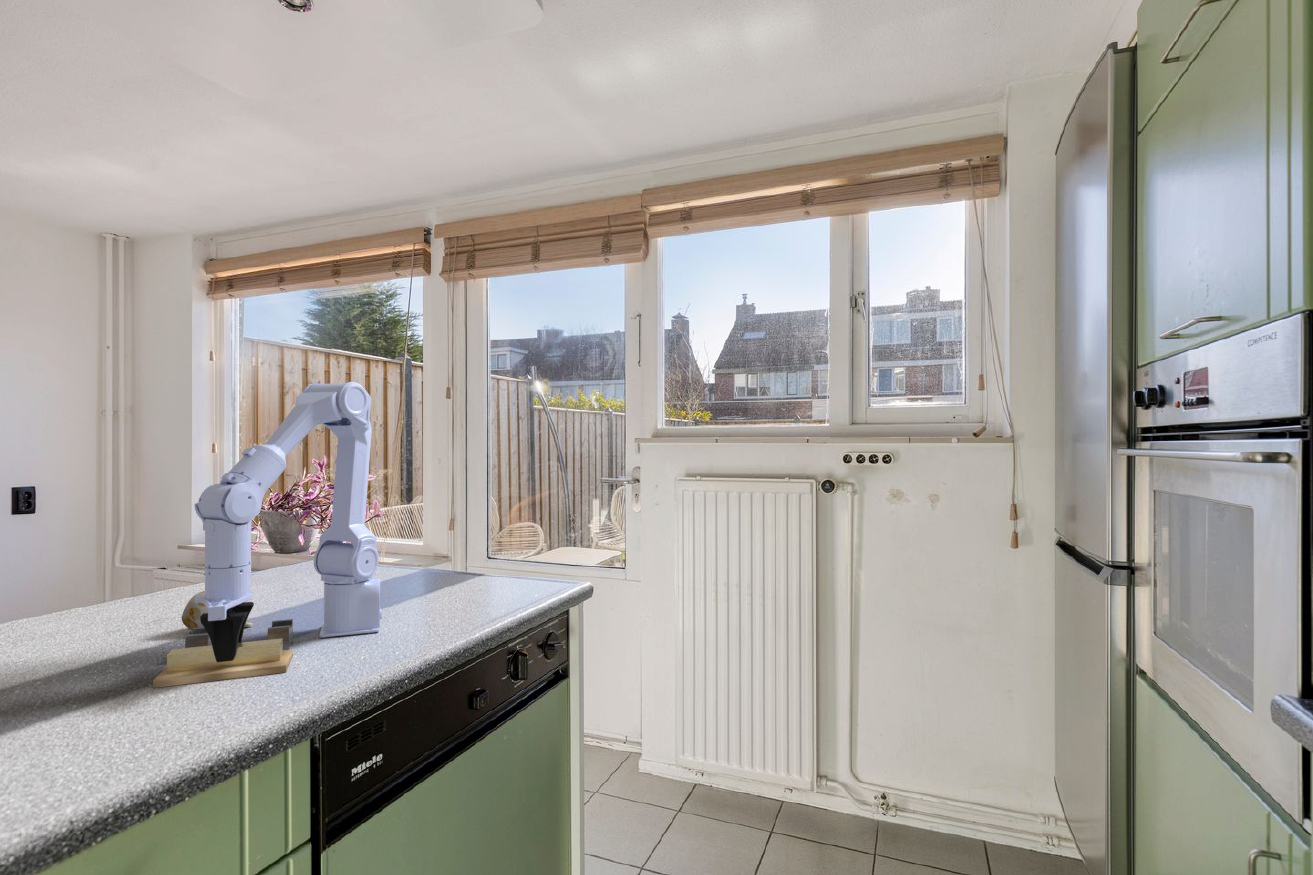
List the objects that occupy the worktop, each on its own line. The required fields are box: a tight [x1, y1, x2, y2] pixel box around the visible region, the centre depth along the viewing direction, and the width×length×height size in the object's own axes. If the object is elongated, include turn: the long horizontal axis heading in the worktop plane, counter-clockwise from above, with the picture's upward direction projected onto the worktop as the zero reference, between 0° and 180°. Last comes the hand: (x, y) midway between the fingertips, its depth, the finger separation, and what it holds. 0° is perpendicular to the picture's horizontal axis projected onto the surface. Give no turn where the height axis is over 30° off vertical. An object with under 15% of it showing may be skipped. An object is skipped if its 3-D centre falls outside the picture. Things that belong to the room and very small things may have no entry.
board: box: [152, 648, 294, 689], centre depth 96 cm, size 16×8×1 cm, turn 113°
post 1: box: [184, 627, 212, 648], centre depth 104 cm, size 3×5×4 cm, turn 23°
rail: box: [166, 638, 283, 673], centre depth 96 cm, size 14×3×3 cm, turn 113°
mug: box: [181, 590, 254, 631], centre depth 116 cm, size 8×10×10 cm
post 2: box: [267, 618, 294, 650], centre depth 108 cm, size 3×5×4 cm, turn 23°
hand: (227, 657), depth 96 cm, fingers closed on rail, 2 cm apart
